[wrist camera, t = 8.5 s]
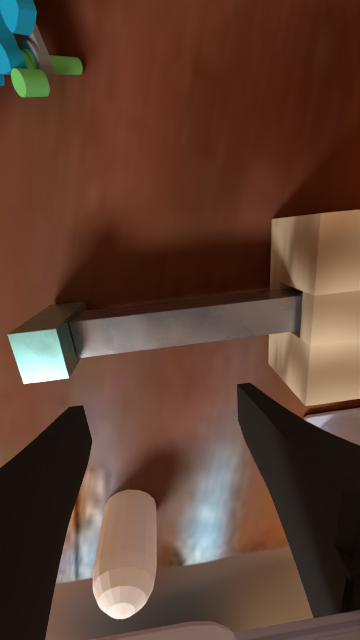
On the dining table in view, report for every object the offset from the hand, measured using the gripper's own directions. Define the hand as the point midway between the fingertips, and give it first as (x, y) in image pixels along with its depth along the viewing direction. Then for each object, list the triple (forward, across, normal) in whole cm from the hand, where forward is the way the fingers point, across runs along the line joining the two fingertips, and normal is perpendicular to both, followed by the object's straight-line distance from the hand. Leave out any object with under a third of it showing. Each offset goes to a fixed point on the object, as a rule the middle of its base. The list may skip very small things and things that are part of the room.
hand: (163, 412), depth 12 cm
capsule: (+10, +6, +19) cm, 22 cm away
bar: (+9, -4, -2) cm, 10 cm away
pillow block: (+10, -13, -2) cm, 16 cm away
